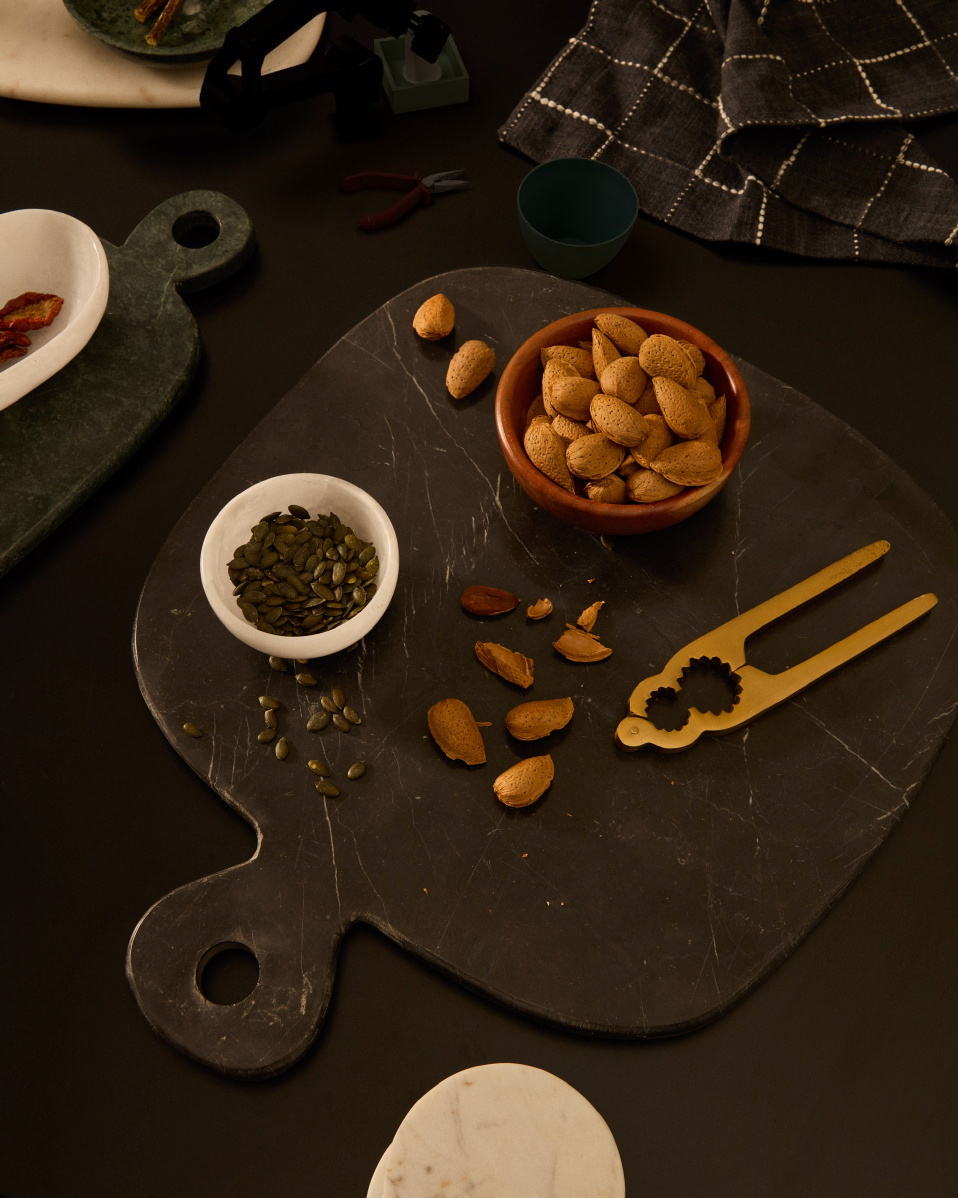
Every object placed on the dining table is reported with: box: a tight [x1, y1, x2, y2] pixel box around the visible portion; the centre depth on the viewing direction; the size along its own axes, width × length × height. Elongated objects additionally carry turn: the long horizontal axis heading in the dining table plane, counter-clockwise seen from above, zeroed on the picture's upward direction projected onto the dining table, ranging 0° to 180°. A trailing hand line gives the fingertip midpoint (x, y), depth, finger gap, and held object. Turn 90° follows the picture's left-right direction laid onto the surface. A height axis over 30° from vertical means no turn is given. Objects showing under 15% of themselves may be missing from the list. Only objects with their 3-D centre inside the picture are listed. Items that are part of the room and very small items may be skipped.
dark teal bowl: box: [516, 156, 640, 281], centre depth 151 cm, size 18×18×12 cm
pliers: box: [342, 168, 471, 231], centre depth 160 cm, size 12×20×3 cm, turn 110°
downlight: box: [402, 9, 442, 84], centre depth 168 cm, size 8×7×10 cm
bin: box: [373, 32, 470, 115], centre depth 171 cm, size 14×14×5 cm
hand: (425, 36), depth 166 cm, fingers closed on downlight, 6 cm apart
